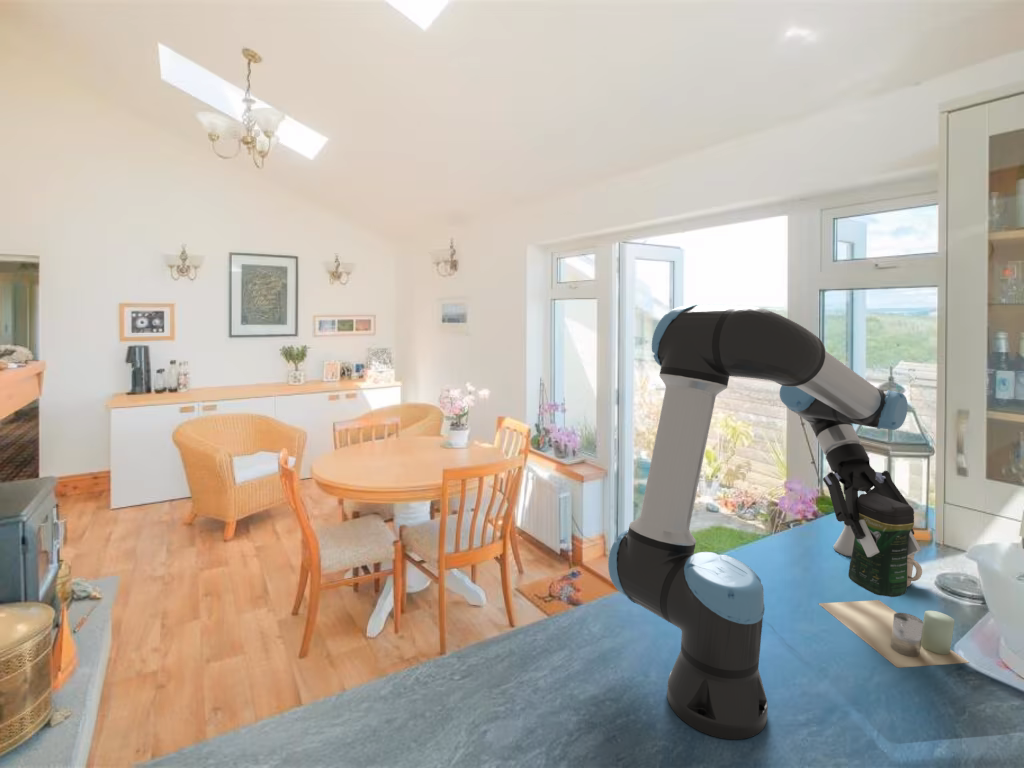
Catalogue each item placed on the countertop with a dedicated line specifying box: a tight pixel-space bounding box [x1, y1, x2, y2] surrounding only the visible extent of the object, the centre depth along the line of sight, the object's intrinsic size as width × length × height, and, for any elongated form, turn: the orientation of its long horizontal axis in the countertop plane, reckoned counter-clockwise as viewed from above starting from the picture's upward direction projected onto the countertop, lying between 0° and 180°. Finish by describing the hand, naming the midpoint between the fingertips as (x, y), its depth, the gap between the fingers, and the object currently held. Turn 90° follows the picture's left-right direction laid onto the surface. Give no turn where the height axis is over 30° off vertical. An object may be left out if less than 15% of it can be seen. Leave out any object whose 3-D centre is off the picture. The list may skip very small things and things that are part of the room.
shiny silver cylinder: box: [891, 612, 924, 657], centre depth 101 cm, size 4×4×6 cm
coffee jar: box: [848, 493, 915, 598], centre depth 110 cm, size 10×8×19 cm
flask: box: [832, 524, 855, 557], centre depth 145 cm, size 7×7×10 cm
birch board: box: [818, 599, 970, 669], centre depth 108 cm, size 14×21×2 cm, turn 7°
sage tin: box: [921, 610, 956, 655], centre depth 102 cm, size 4×4×6 cm
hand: (894, 553), depth 106 cm, fingers closed on coffee jar, 8 cm apart
